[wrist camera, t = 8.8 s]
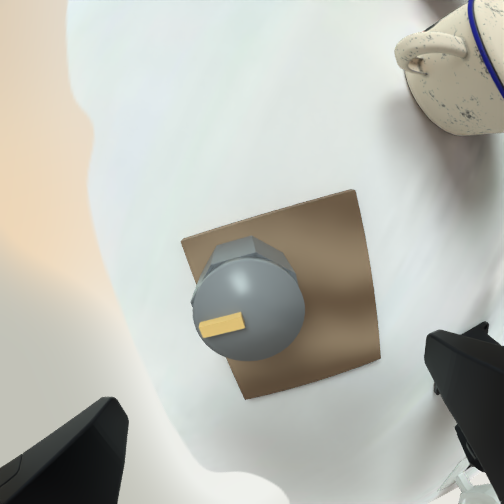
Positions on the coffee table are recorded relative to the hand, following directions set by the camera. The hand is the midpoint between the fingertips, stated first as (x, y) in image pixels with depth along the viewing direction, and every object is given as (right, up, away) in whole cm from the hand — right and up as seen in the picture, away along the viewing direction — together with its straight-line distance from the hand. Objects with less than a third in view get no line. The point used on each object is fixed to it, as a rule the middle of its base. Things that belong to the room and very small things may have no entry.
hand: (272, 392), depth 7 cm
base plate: (+2, 0, +12) cm, 13 cm away
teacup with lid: (+13, +16, +9) cm, 23 cm away
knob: (-1, +2, +11) cm, 11 cm away
